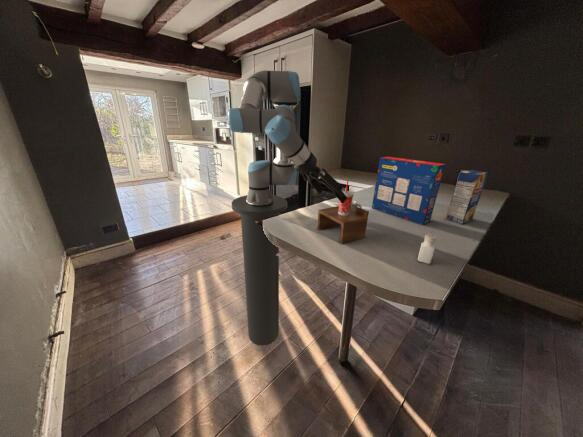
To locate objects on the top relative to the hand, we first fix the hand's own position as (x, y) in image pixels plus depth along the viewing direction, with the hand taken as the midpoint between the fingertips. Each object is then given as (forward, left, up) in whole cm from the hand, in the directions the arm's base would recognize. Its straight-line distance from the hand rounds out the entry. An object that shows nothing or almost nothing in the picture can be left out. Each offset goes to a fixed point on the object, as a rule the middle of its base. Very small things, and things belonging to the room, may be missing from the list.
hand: (332, 195), depth 90 cm
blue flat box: (-2, +49, -18) cm, 52 cm away
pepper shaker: (+31, +17, -18) cm, 40 cm away
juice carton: (+17, +71, -18) cm, 76 cm away
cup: (-12, +23, -18) cm, 32 cm away
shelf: (0, +6, -17) cm, 19 cm away
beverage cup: (+1, +7, -9) cm, 11 cm away
